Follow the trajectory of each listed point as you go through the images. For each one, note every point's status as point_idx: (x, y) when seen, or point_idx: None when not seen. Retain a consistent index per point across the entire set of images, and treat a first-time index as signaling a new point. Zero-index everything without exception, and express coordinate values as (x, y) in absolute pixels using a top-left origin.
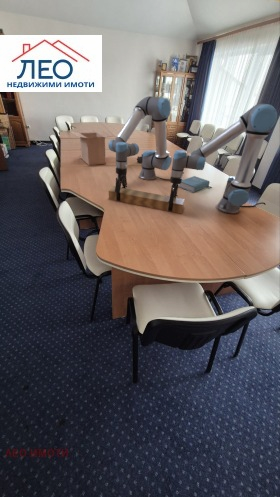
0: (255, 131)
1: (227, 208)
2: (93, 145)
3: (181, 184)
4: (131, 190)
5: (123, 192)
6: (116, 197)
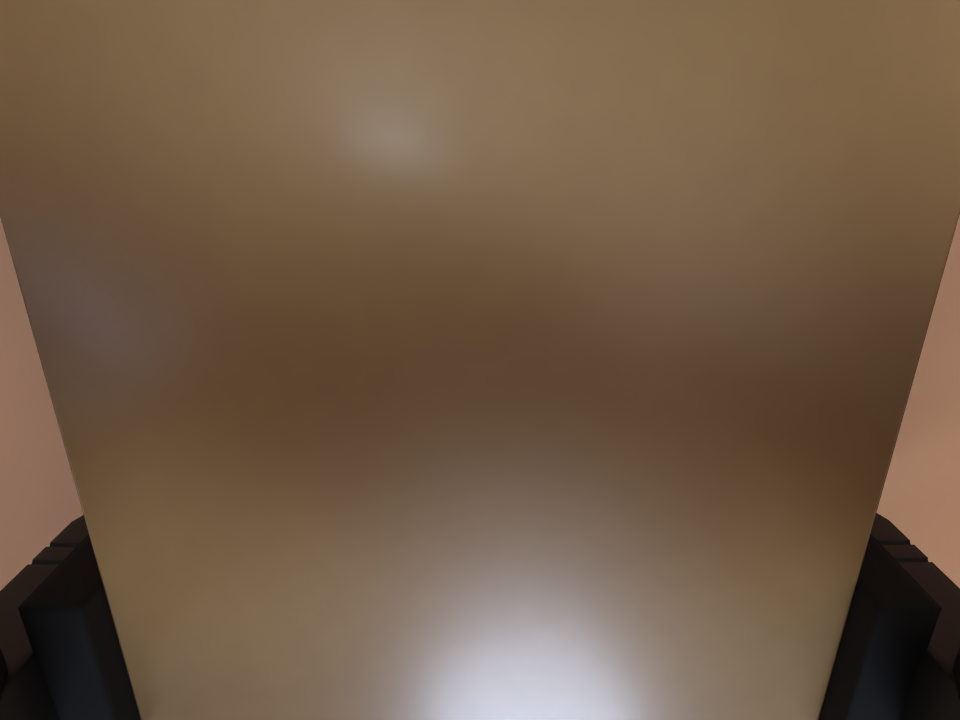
0: None
1: None
2: None
3: None
4: (165, 115)
5: (733, 467)
6: None
